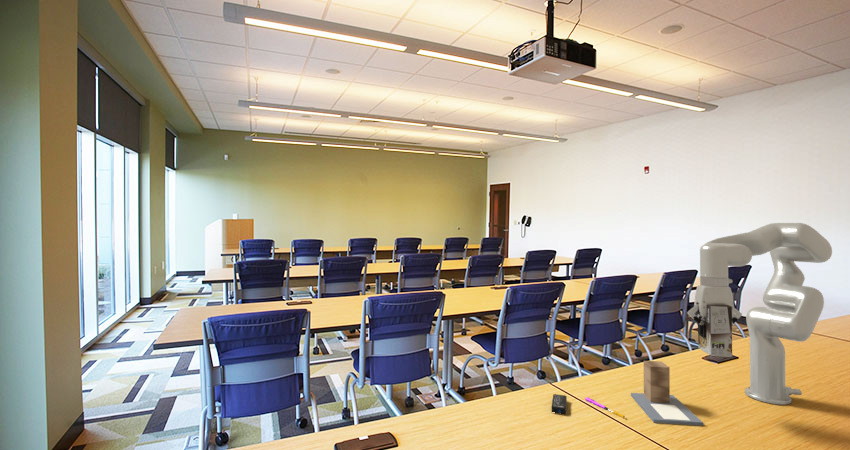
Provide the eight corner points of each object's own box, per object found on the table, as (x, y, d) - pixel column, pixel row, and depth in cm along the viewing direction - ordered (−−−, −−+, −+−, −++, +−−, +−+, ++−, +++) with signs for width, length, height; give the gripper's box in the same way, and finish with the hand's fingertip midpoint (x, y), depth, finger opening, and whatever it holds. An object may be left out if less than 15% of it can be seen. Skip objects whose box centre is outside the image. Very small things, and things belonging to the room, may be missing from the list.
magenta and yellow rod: (584, 400, 141) (625, 420, 127) (584, 396, 141) (625, 416, 127) (589, 400, 143) (630, 420, 128) (590, 397, 143) (631, 416, 128)
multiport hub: (566, 402, 141) (566, 395, 141) (565, 416, 130) (565, 408, 130) (553, 400, 142) (553, 393, 142) (551, 413, 132) (551, 406, 132)
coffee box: (733, 357, 127) (733, 306, 127) (710, 356, 128) (710, 305, 128) (718, 348, 136) (718, 300, 136) (697, 347, 137) (696, 300, 137)
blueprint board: (673, 397, 143) (672, 361, 143) (703, 425, 123) (702, 383, 123) (630, 395, 145) (630, 359, 145) (653, 422, 125) (653, 380, 125)
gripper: (736, 281, 135) (736, 334, 135) (679, 280, 137) (680, 333, 137) (750, 284, 127) (751, 341, 127) (691, 283, 130) (691, 339, 130)
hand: (714, 336), depth 132 cm, fingers closed on coffee box, 6 cm apart
